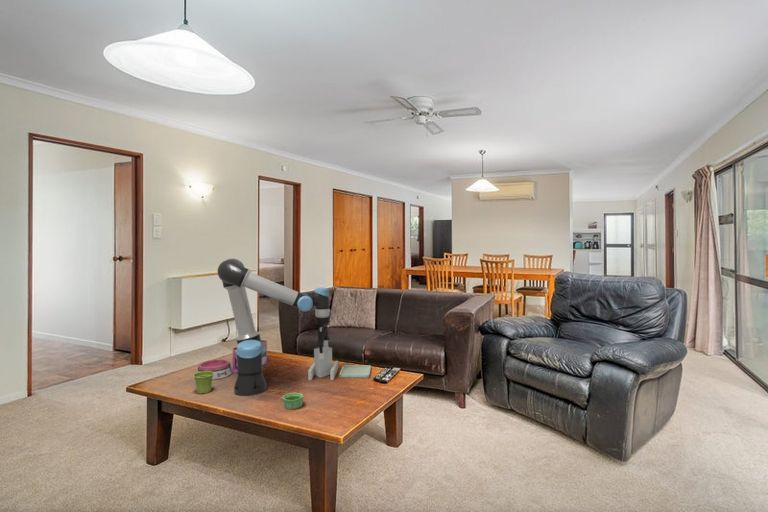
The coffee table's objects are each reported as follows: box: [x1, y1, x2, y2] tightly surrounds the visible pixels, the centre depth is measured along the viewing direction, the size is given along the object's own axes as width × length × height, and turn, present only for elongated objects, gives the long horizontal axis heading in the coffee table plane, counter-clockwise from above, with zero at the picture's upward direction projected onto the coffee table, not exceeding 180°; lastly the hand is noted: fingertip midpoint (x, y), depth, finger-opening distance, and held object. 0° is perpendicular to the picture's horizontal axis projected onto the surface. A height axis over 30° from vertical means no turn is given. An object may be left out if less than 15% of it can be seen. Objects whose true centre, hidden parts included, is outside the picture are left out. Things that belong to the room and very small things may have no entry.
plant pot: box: [192, 371, 214, 395], centre depth 204 cm, size 9×9×9 cm
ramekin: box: [281, 392, 304, 410], centre depth 185 cm, size 9×9×4 cm
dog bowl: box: [196, 358, 233, 381], centre depth 230 cm, size 18×19×7 cm
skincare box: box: [313, 345, 333, 378], centre depth 227 cm, size 8×6×15 cm
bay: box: [307, 360, 340, 381], centre depth 229 cm, size 20×13×5 cm
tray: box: [338, 364, 372, 379], centre depth 231 cm, size 18×16×2 cm
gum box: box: [232, 339, 268, 374], centre depth 242 cm, size 24×8×14 cm, turn 163°
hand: (323, 355), depth 227 cm, fingers open, 13 cm apart
